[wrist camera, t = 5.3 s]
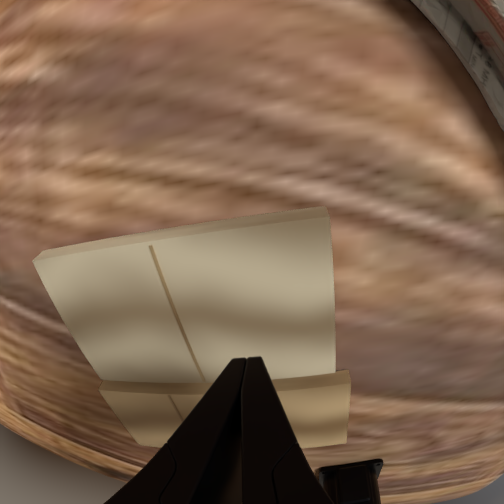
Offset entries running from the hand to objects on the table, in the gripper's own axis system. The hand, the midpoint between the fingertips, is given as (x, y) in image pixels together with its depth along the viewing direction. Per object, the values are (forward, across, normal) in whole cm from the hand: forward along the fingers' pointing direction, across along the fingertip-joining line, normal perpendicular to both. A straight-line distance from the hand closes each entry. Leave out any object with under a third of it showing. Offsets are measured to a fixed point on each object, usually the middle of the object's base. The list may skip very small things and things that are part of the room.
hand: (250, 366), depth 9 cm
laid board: (+8, +5, +13) cm, 16 cm away
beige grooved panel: (+8, +5, +3) cm, 10 cm away
